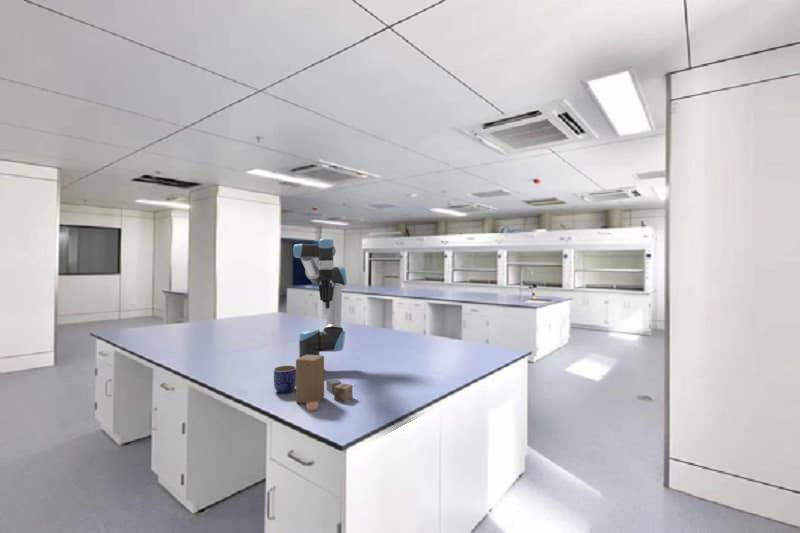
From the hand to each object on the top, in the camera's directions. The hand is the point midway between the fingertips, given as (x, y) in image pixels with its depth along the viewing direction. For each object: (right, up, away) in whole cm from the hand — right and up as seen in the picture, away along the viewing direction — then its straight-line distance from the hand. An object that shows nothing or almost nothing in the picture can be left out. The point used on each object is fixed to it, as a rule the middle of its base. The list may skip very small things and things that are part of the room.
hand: (326, 314), depth 193 cm
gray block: (+6, -37, -10) cm, 38 cm away
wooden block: (-3, -37, -22) cm, 43 cm away
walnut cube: (+12, -37, -20) cm, 44 cm away
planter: (-18, -37, -9) cm, 42 cm away
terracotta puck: (+1, -37, -33) cm, 49 cm away
